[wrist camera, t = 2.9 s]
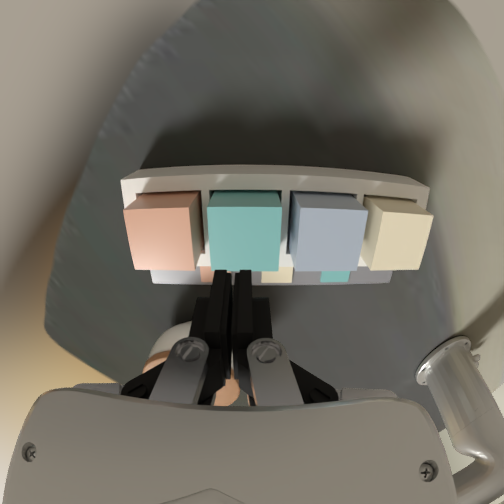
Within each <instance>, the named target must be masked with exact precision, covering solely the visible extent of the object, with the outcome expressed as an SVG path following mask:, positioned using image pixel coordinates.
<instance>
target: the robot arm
mask: <svg viewBox="0 0 504 504" xmlns="http://www.w3.org/2000/svg"><path fill="white" fill-rule="evenodd" d="M470 349H471V342H470V340H469V339H468V338H467V337H465V336H459V337H455V338H453V339H450V340H448V341H447V342H445V343H443V344H442V345H440V346H439V347H438V348H436V349H435V350H434V351H433V352H431V353H430V354H429V355H428V356H427V357H426V358H425V359H424V360H423V362H422V363H421V364H420V366H419V367H418V369H417V371H416V375H415V377H416V380H417V382H418V383H419V384H421V385H428V387H429V389H430V391H431V393H432V395H433V398H434V400H435V402H436V405H437V407H438V409H439V412H440V414H441V416H442V419H443V421H444V424H445V426H446V429H447V431H448V434H449V437H450V439H451V442H452V444H453V447H454V448H455V450H456V451H457V452H459V453H461V454H463V455H467V456H470V457H473V458H475V461H474V462H473V463H471V464H470V465H468V466H467V467H465V468H464V469H462V470H461V471H459V472H457V473H455V474H454V475H452V472H451V469H450V465H449V461H448V458H447V455H446V451H445V449H444V446H443V443H442V441H441V438H440V436H439V433H438V431H437V429H436V426H435V424H434V422H433V421H432V419H431V417H430V415H429V414H428V412H427V411H426V410H425V409H424V408H423V407H422V406H421V405H420V404H418V403H416V402H414V401H411V400H407V399H402V398H398V397H397V396H396V394H395V393H393V392H391V391H390V390H384V389H355V388H342V390H335V389H334V388H333V387H332V386H331V385H329V384H327V383H326V382H324V381H322V380H321V379H319V378H317V377H316V376H314V375H313V374H311V373H309V372H308V371H306V370H305V369H303V368H301V367H300V366H298V365H297V364H295V363H293V362H292V361H290V360H289V358H288V355H287V352H286V349H285V348H284V346H283V344H281V343H280V342H279V341H277V340H275V339H273V337H272V326H271V316H270V307H269V298H252V271H251V270H240V273H235V280H234V295H233V297H232V274H231V273H227V270H215V271H214V276H213V282H212V287H211V292H210V297H198V298H197V301H196V305H195V310H194V314H193V318H192V323H191V327H190V332H189V336H188V337H186V338H183V339H180V340H178V341H177V342H176V343H175V344H174V345H173V347H172V348H171V351H170V353H169V355H168V357H167V359H166V360H165V361H164V362H162V363H160V364H159V365H157V366H155V367H153V368H152V369H150V370H148V371H146V372H145V373H143V374H141V375H139V376H138V377H136V378H134V379H132V380H130V381H129V382H128V383H126V384H125V385H121V384H120V383H90V384H89V383H82V384H77V385H75V386H74V387H73V388H58V389H53V390H49V391H46V392H44V393H43V394H41V395H40V396H39V397H38V399H37V400H36V401H35V402H34V404H33V406H32V407H31V409H30V411H29V413H28V415H27V417H26V419H25V421H24V424H23V426H22V429H21V431H20V434H19V436H18V439H17V442H16V445H15V449H14V452H13V455H12V459H11V462H10V466H9V470H8V474H7V479H6V484H5V490H4V496H3V503H2V504H489V503H491V502H492V501H494V500H496V499H497V498H499V497H500V496H502V495H503V494H504V418H503V416H502V414H501V412H500V410H499V408H498V406H497V403H496V402H495V400H494V398H493V396H492V394H491V392H490V390H489V388H488V386H487V384H486V383H485V381H484V379H483V377H482V375H481V374H480V372H479V370H478V369H477V368H478V366H479V363H478V361H479V360H480V355H479V354H477V355H474V356H473V355H472V354H471V352H470ZM232 354H233V368H234V380H238V381H239V388H240V389H242V390H243V391H244V392H245V393H247V398H248V403H249V406H214V403H215V399H216V392H217V391H218V390H220V389H221V388H223V386H226V379H231V360H232ZM499 504H504V501H503V502H501V503H499Z"/></svg>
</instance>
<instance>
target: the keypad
mask: <svg viewBox="0 0 504 504" xmlns="http://www.w3.org/2000/svg"><path fill="white" fill-rule="evenodd" d="M121 186H122V194H123V200H124V207H125V208H126V207H127V206H128V205H130V204H131V203H132V202H133V201H135V200H136V199H137V198H138V197H139V196H141V195H142V194H143V193H147V192H165V191H189V190H201V197H202V213H203V228H204V241H205V242H204V245H203V248H202V251H201V254H200V257H199V260H198V263H197V266H196V269H195V271H180V270H150V271H151V276H152V281H153V283H164V284H199V285H212V282H213V276H214V271H211V262H210V249H209V234H208V219H207V206H208V204H209V201H210V199H211V197H212V195H213V193H214V191H215V190H277V193H278V196H279V199H280V202H281V205H282V220H281V238H280V255H279V270H278V271H252V285H333V284H368V283H389V282H390V278H391V275H392V272H393V270H375V271H370V269H369V268H368V266H367V265H366V263H365V262H364V260H363V259H362V257H361V256H360V258H359V262H358V267H357V271H295V270H294V266H293V262H292V258H291V254H290V250H289V246H288V242H287V235H288V234H287V232H288V216H289V199H290V190H295V191H319V192H338V193H349V194H350V195H351V196H353V197H354V198H355V199H356V200H357V201H358V202H359V203H360V204H362V205H363V198H364V194H366V195H378V196H389V197H399V198H408V199H410V200H411V201H413V202H414V203H416V204H417V205H419V206H420V207H422V208H423V209H425V210H426V206H427V201H428V196H429V190H430V188H429V187H427V186H425V185H424V184H422V183H420V182H418V181H416V180H414V179H412V178H410V177H407V176H401V175H394V174H386V173H378V172H369V171H360V170H350V169H338V168H325V167H310V166H288V165H201V166H180V167H164V168H151V169H140V170H137V171H136V172H134V173H132V174H130V175H128V176H127V177H125V178H123V179H121ZM227 273H231V274H232V285H234V280H235V273H240V271H227Z"/></svg>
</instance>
